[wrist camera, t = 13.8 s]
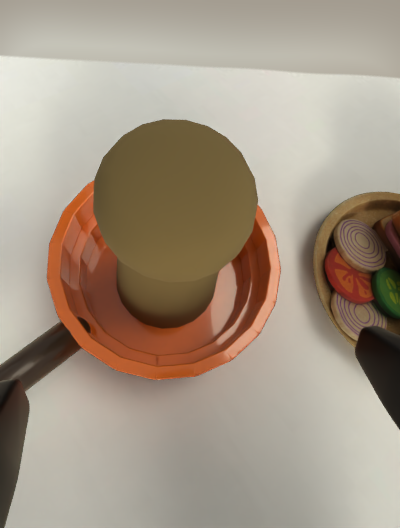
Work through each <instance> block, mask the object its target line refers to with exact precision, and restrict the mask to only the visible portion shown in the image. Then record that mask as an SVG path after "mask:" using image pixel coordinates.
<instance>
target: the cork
mask: <svg viewBox="0 0 400 528" xmlns="http://www.w3.org/2000/svg"><path fill="white" fill-rule="evenodd" d="M257 204H258V197H257V191H256V185H255V178H254V176H253V175H252V173H251V171H250V169H249V167H248V165H247V163H246V161H245V159H244V157H243V155H242V153H241V152H240V151H239V150H238V149H237V148H236V147H235V146H234V145H233V144H232V143H231V142H230V141H229V140H228V139H227V138H226V137H225V136H223V135H221V134H220V133H218V132H216V131H215V130H213V129H211V128H210V127H208V126H205V125H201V124H198V123H194V122H191V121H187V120H165V119H164V120H159V121H155V122H151V123H147V124H143V125H141V126H139V127H137V128H135V129H134V130H132V131H130V132H128V133H127V134H125V135H123V136H122V137H121V138H120V139H119V140H118V142H117V143H116V144H115V145H114V146H113V147H112V148H111V149H110V150H109V152H108V153H107V154H106V155H105V156H104V157H103V159H102V162H101V164H100V167H99V169H98V172H97V174H96V177H95V180H94V194H93V213H94V215H95V218H96V221H97V224H98V226H99V229H100V232H101V235H102V237H103V239H104V241H105V243H106V244H107V245H108V247H109V248H110V249H111V250H112V252H113V253H114V254H115V255H116V256H117V291H118V294H119V296H120V299H121V302H122V304H123V305H124V306H125V308H126V309H127V310H128V311H129V313H130V314H131V315H132V316H133V317H135V318H136V319H138V320H139V321H141V322H143V323H144V324H146V325H149V326H153V327H157V328H161V329H164V328H177V327H181V326H183V325H185V324H188V323H190V322H193V321H194V320H195V319H197V318H198V317H199V316H200V315H201V314H202V313H203V312H205V311H206V309H207V307H208V306H209V304H210V302H211V301H212V299H213V296H214V292H215V287H216V282H217V278H218V273H219V271H220V270H221V269H222V268H223V267H224V266H226V265H227V264H228V263H229V262H230V261H232V260H233V259H234V258H235V257H236V256H237V255H238V254H239V253H240V251H241V250H242V248H243V246H244V245H245V243H246V241H247V240H248V238H249V236H250V235H251V233H252V231H253V226H254V221H255V216H256V210H257Z"/></svg>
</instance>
